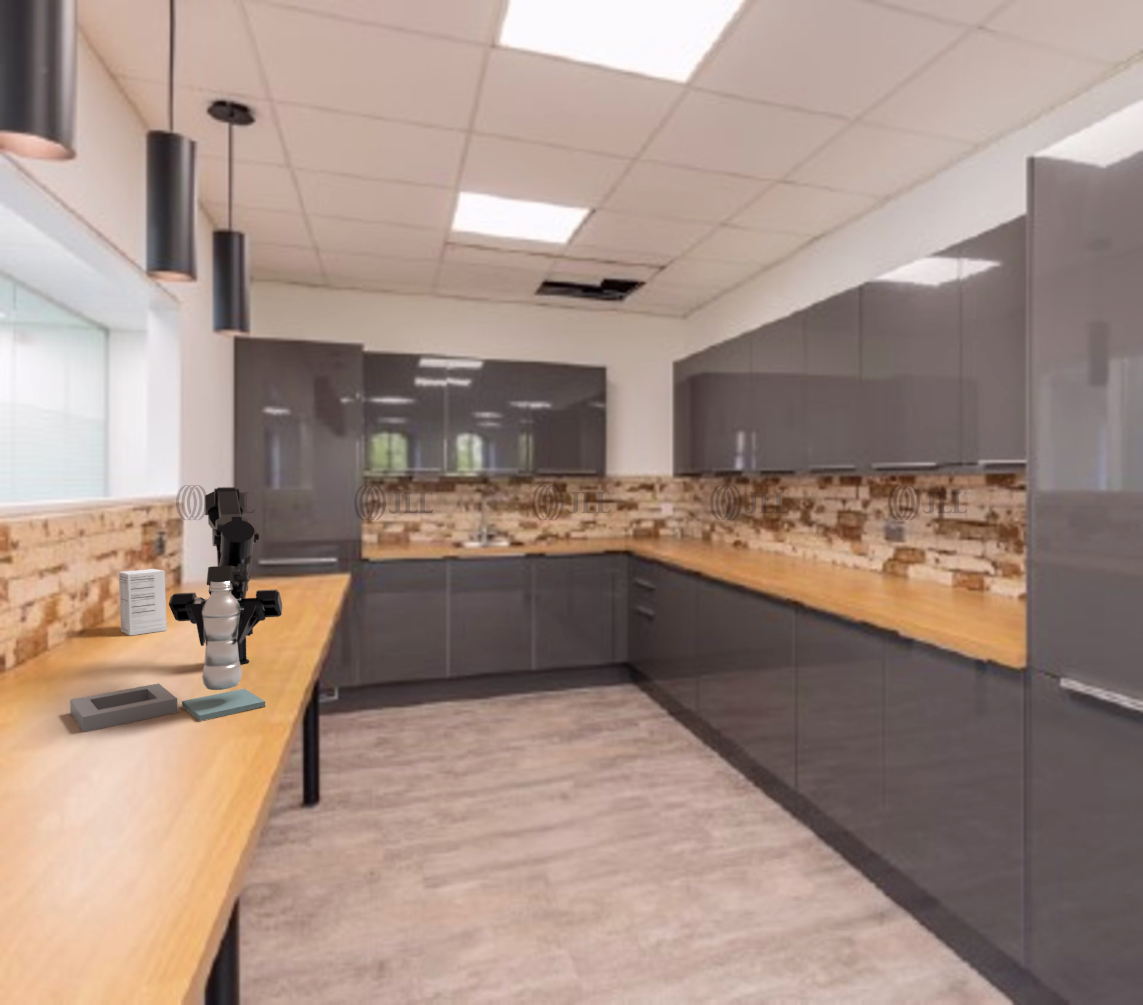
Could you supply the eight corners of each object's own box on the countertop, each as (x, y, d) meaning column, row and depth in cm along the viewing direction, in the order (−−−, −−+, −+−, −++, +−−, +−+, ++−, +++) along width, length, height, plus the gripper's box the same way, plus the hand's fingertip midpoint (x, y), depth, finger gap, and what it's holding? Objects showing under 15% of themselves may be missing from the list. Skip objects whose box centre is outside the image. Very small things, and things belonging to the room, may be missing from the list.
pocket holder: (159, 696, 134) (158, 683, 134) (177, 712, 125) (177, 698, 125) (70, 713, 124) (70, 699, 124) (83, 731, 115) (82, 717, 115)
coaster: (244, 693, 135) (244, 688, 135) (265, 706, 127) (265, 701, 127) (182, 706, 128) (181, 701, 128) (199, 721, 120) (199, 715, 120)
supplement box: (167, 630, 194) (166, 570, 193) (129, 636, 187) (127, 574, 186) (156, 626, 200) (155, 568, 200) (119, 631, 193) (118, 571, 193)
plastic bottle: (248, 683, 131) (247, 578, 130) (229, 694, 124) (228, 583, 123) (215, 682, 131) (214, 577, 130) (194, 694, 124) (193, 583, 124)
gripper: (170, 550, 128) (151, 621, 118) (278, 547, 133) (268, 616, 122) (184, 585, 136) (167, 655, 126) (286, 582, 141) (277, 649, 130)
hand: (220, 643), depth 126 cm, fingers closed on plastic bottle, 6 cm apart
